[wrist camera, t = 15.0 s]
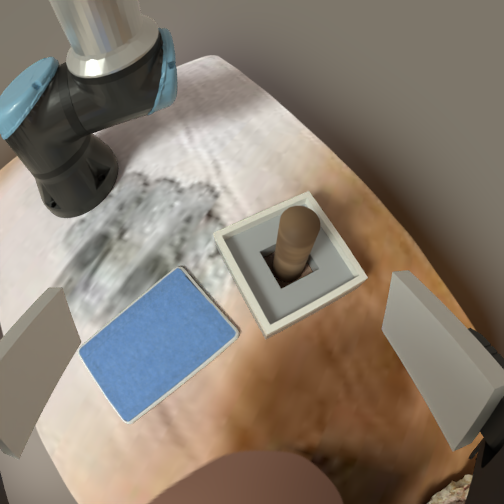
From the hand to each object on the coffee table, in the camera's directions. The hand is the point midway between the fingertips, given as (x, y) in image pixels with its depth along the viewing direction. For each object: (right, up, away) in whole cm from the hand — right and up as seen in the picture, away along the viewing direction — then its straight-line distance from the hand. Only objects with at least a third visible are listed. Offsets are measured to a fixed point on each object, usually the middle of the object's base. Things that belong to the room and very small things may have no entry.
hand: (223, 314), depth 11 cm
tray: (+6, 0, +29) cm, 30 cm away
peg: (+6, 0, +29) cm, 30 cm away
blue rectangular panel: (-11, -10, +26) cm, 30 cm away
